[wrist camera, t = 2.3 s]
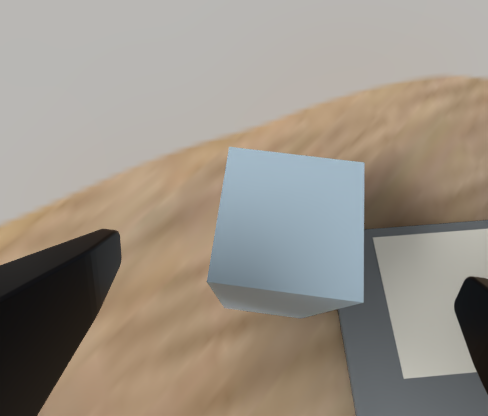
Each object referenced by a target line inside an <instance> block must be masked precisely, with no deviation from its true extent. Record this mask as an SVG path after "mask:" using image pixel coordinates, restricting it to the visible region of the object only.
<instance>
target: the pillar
mask: <svg viewBox="0 0 488 416" xmlns="http://www.w3.org/2000/svg"><path fill="white" fill-rule="evenodd" d="M207 283H208V284H209V286H210V287H211V289H212V290H213V292H214V293H215V295H216V296H217V298H218V299H219V301H220V302H221V304H222V305H223V307H224V308H228V309H235V310H243V311H250V312H258V313H265V314H272V315H280V316H287V317H294V318H305V317H309V316H313V315H317V314H321V313H325V312H329V311H332V310H336V309H340V308H344V307H348V306H352V305H356V304H360V303H364V163H363V162H354V161H346V160H337V159H329V158H320V157H312V156H303V155H294V154H286V153H277V152H269V151H260V150H252V149H243V148H235V147H229V152H228V158H227V164H226V170H225V176H224V182H223V188H222V194H221V200H220V206H219V212H218V218H217V224H216V230H215V236H214V242H213V248H212V254H211V260H210V266H209V272H208V278H207Z"/></svg>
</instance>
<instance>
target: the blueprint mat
mask: <svg viewBox="0 0 488 416" xmlns="http://www.w3.org/2000/svg"><path fill="white" fill-rule="evenodd" d="M470 276H474V277H482V278H487V279H488V220H483V221H470V222H457V223H444V224H430V225H417V226H404V227H391V228H378V229H365V230H364V303H360V304H356V305H352V306H348V307H344V308H340V309H338V313H339V319H340V325H341V331H342V337H343V342H344V348H345V354H346V360H347V366H348V372H349V378H350V384H351V389H352V395H353V401H354V407H355V413H356V416H488V395H487V393H486V391H485V389H484V386H483V384H482V382H481V380H480V378H479V376H478V374H477V371H476V369H475V367H474V364H473V362H472V359H471V356H470V354H469V351H468V348H467V345H466V342H465V339H464V337H463V334H462V331H461V328H460V325H459V322H458V320H457V317H456V314H455V311H454V302H455V299H456V297H457V295H458V293H459V291H460V288H461V286H462V284H463V282H464V280H465V279H466V278H467V277H470Z"/></svg>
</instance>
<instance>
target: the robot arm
mask: <svg viewBox="0 0 488 416" xmlns="http://www.w3.org/2000/svg"><path fill="white" fill-rule="evenodd" d="M120 264H121V244H120V235H119V232H118V231H116V230H110V229H100V230H97V231H95V232H92V233H89V234H86V235H84V236H81V237H78V238H75V239H72V240H70V241H67V242H64V243H61V244H59V245H56V246H53V247H50V248H47V249H45V250H42V251H39V252H36V253H34V254H31V255H28V256H25V257H22V258H20V259H17V260H14V261H11V262H8V263H6V264H3V265H0V416H37V415H38V413H39V411H40V410H41V408H42V406H43V405H44V403H45V401H46V400H47V398H48V396H49V395H50V393H51V391H52V390H53V388H54V387H55V385H56V383H57V382H58V380H59V378H60V377H61V375H62V373H63V372H64V370H65V368H66V367H67V365H68V363H69V362H70V360H71V358H72V357H73V355H74V353H75V352H76V350H77V348H78V347H79V345H80V343H81V342H82V340H83V338H84V337H85V335H86V333H87V332H88V330H89V328H90V327H91V325H92V323H93V322H94V320H95V318H96V316H97V314H98V313H99V310H100V308H101V306H102V304H103V302H104V300H105V298H106V295H107V293H108V291H109V289H110V287H111V284H112V282H113V280H114V278H115V276H116V273H117V271H118V269H119V267H120ZM454 311H455V314H456V317H457V320H458V322H459V325H460V328H461V331H462V334H463V337H464V339H465V342H466V345H467V348H468V351H469V354H470V356H471V359H472V362H473V364H474V367H475V369H476V371H477V374H478V376H479V378H480V380H481V382H482V384H483V386H484V389H485V391H486V393H487V395H488V279H487V278H482V277H474V276H470V277H467V278H466V279H465V280H464V282H463V284H462V286H461V288H460V291H459V293H458V295H457V297H456V299H455V302H454Z"/></svg>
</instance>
